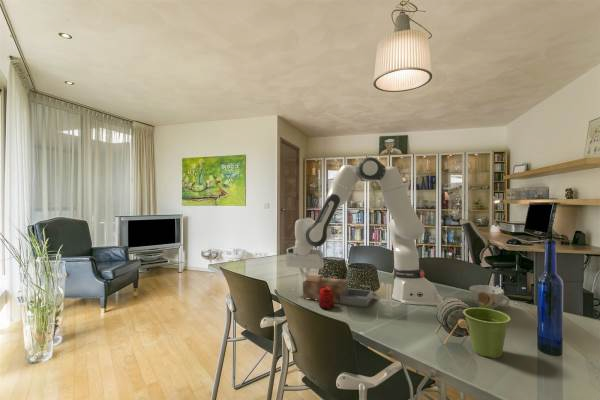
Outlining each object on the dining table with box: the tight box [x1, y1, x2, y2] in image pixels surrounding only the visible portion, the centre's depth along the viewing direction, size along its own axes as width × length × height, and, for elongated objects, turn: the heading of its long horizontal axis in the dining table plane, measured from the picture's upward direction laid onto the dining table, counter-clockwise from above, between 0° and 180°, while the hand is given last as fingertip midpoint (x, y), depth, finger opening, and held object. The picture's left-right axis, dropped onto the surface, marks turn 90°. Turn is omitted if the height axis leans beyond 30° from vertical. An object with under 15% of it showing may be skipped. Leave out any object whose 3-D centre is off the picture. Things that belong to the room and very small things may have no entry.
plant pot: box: [462, 307, 511, 359], centre depth 88 cm, size 12×12×11 cm
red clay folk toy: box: [318, 273, 335, 310], centre depth 131 cm, size 8×7×15 cm
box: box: [339, 288, 374, 308], centre depth 138 cm, size 12×14×4 cm
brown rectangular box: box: [302, 277, 349, 304], centre depth 145 cm, size 19×12×8 cm, turn 64°
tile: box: [305, 273, 323, 282], centre depth 148 cm, size 6×6×2 cm
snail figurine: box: [477, 290, 495, 310], centre depth 112 cm, size 5×6×12 cm
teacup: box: [469, 284, 510, 310], centre depth 125 cm, size 15×12×8 cm
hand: (304, 276), depth 150 cm, fingers closed
